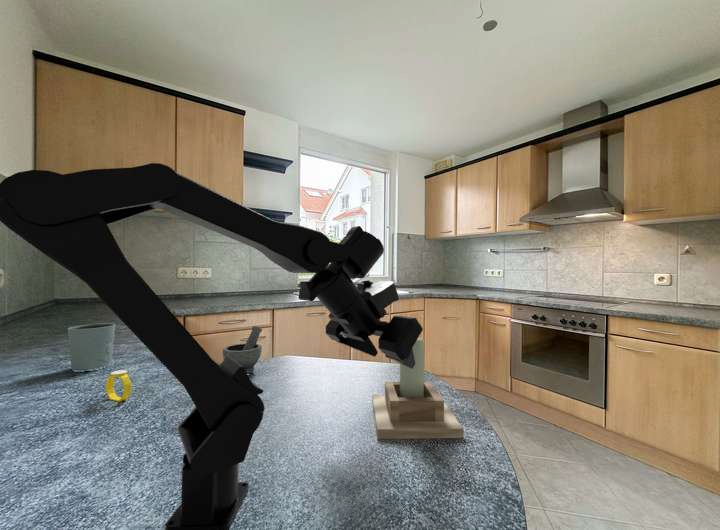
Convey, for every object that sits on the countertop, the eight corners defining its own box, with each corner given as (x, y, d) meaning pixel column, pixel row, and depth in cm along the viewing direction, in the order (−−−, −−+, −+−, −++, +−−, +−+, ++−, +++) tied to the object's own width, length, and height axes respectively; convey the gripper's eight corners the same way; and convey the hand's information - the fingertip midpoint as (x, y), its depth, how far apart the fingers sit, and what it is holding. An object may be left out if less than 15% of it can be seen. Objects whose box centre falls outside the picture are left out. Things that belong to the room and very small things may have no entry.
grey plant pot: (119, 366, 86) (121, 324, 86) (72, 376, 77) (74, 330, 78) (106, 361, 91) (107, 322, 92) (60, 369, 83) (62, 326, 83)
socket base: (463, 438, 48) (463, 406, 48) (377, 438, 48) (377, 407, 48) (438, 401, 62) (438, 377, 62) (372, 402, 62) (372, 377, 62)
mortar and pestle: (239, 381, 74) (240, 332, 75) (214, 375, 78) (215, 329, 79) (271, 368, 84) (272, 326, 84) (248, 364, 88) (249, 323, 89)
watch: (134, 400, 63) (136, 372, 63) (119, 405, 61) (122, 376, 61) (115, 394, 65) (117, 367, 65) (100, 399, 63) (103, 371, 63)
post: (417, 417, 52) (417, 342, 52) (395, 410, 55) (395, 339, 55) (427, 408, 55) (427, 338, 56) (406, 402, 58) (406, 335, 59)
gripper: (414, 262, 43) (458, 331, 49) (339, 265, 57) (381, 319, 63) (372, 322, 37) (428, 391, 44) (302, 309, 52) (351, 362, 58)
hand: (393, 359), depth 52 cm, fingers open, 9 cm apart
